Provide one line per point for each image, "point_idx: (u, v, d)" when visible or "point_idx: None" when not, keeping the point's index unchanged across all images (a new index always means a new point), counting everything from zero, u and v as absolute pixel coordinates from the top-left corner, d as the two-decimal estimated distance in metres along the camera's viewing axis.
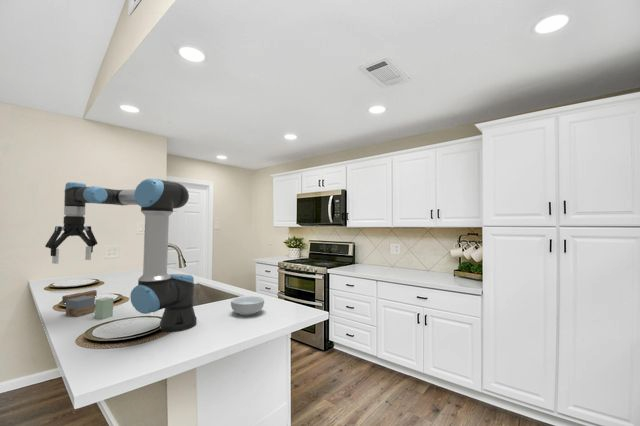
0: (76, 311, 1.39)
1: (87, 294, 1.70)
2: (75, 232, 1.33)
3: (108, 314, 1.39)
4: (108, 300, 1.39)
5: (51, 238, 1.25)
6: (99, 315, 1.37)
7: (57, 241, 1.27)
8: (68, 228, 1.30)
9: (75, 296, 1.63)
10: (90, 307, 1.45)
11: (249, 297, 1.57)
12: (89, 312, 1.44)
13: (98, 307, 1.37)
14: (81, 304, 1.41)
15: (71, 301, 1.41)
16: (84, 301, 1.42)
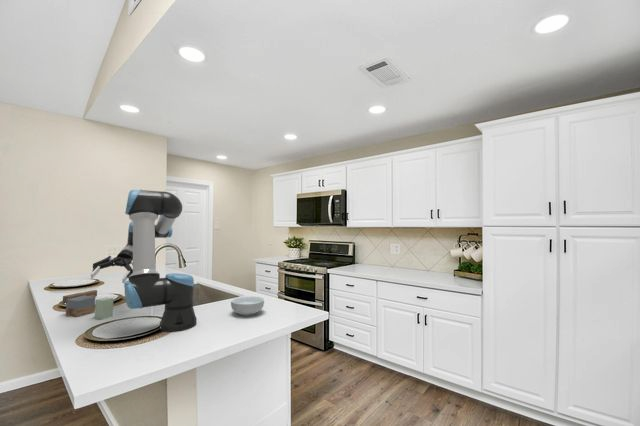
0: (76, 311, 1.39)
1: (87, 294, 1.70)
2: (120, 261, 1.51)
3: (108, 314, 1.39)
4: (108, 300, 1.39)
5: None
6: (99, 314, 1.37)
7: None
8: (116, 258, 1.52)
9: (75, 296, 1.64)
10: (90, 307, 1.45)
11: (249, 297, 1.57)
12: (89, 312, 1.44)
13: (98, 307, 1.37)
14: (82, 304, 1.41)
15: (71, 301, 1.41)
16: (84, 301, 1.42)
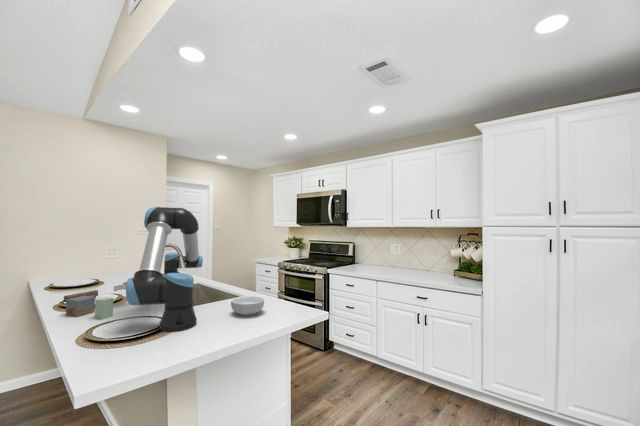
0: (76, 311, 1.39)
1: (88, 294, 1.70)
2: None
3: (108, 314, 1.39)
4: (108, 300, 1.39)
5: None
6: (99, 315, 1.37)
7: None
8: None
9: (76, 296, 1.64)
10: (90, 307, 1.45)
11: (249, 297, 1.57)
12: (89, 312, 1.44)
13: (98, 307, 1.37)
14: (82, 304, 1.41)
15: (71, 301, 1.41)
16: (84, 301, 1.42)
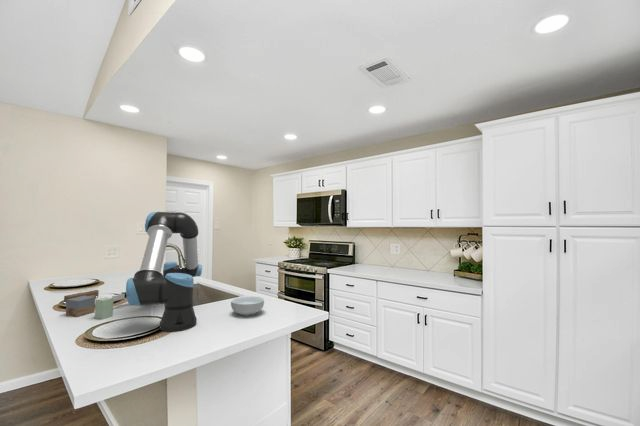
0: (76, 311, 1.39)
1: (89, 294, 1.70)
2: None
3: (108, 314, 1.39)
4: (108, 300, 1.39)
5: None
6: (99, 314, 1.37)
7: None
8: None
9: (77, 296, 1.64)
10: (90, 307, 1.45)
11: (249, 297, 1.57)
12: (89, 312, 1.44)
13: (98, 307, 1.37)
14: (82, 304, 1.41)
15: (71, 301, 1.41)
16: (85, 301, 1.42)
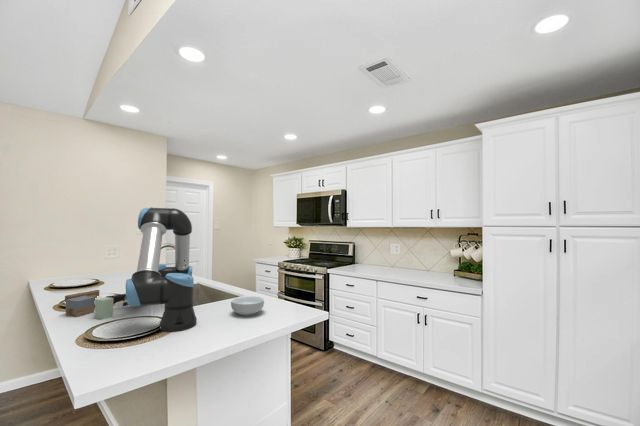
0: (76, 311, 1.39)
1: (89, 294, 1.70)
2: None
3: (108, 314, 1.39)
4: (108, 300, 1.39)
5: None
6: (99, 314, 1.37)
7: None
8: None
9: (77, 296, 1.64)
10: (90, 307, 1.45)
11: (249, 297, 1.57)
12: (89, 312, 1.44)
13: (98, 307, 1.37)
14: (82, 304, 1.41)
15: (71, 301, 1.40)
16: (84, 301, 1.42)
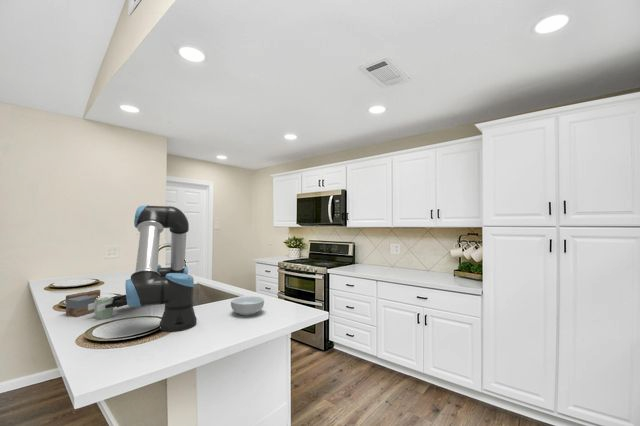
0: (76, 311, 1.40)
1: (90, 294, 1.70)
2: (124, 297, 1.49)
3: (108, 314, 1.39)
4: (108, 300, 1.39)
5: None
6: (99, 314, 1.37)
7: None
8: None
9: (78, 296, 1.64)
10: None
11: (249, 297, 1.57)
12: (89, 312, 1.45)
13: None
14: (82, 304, 1.41)
15: (71, 301, 1.41)
16: (85, 301, 1.43)
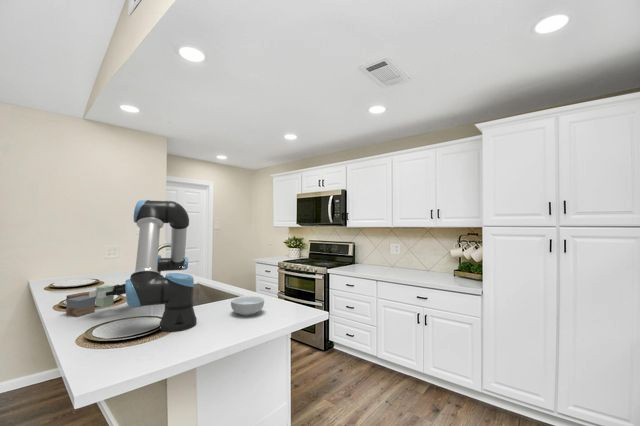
0: (76, 311, 1.40)
1: None
2: (124, 286, 1.50)
3: (109, 302, 1.40)
4: (109, 288, 1.40)
5: None
6: (99, 302, 1.38)
7: None
8: None
9: (79, 296, 1.65)
10: (90, 307, 1.45)
11: (249, 297, 1.57)
12: (89, 312, 1.45)
13: None
14: (82, 304, 1.42)
15: (72, 301, 1.41)
16: (85, 301, 1.43)
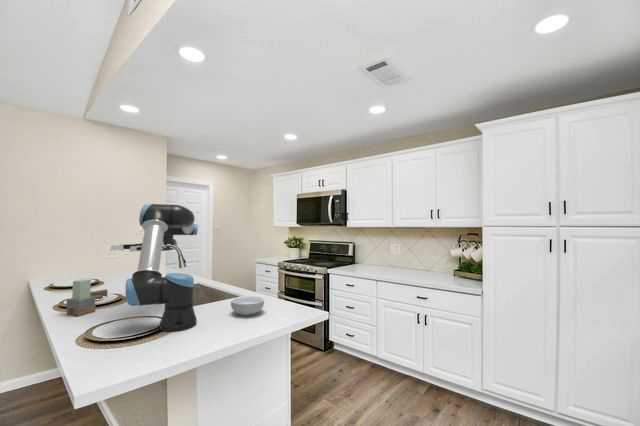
0: (77, 311, 1.40)
1: (97, 293, 1.72)
2: None
3: (85, 295, 1.44)
4: (85, 281, 1.44)
5: None
6: (76, 295, 1.42)
7: None
8: (141, 244, 1.72)
9: None
10: (91, 307, 1.46)
11: (249, 297, 1.57)
12: (90, 312, 1.45)
13: (75, 288, 1.42)
14: (82, 304, 1.42)
15: (72, 301, 1.41)
16: (85, 301, 1.43)
